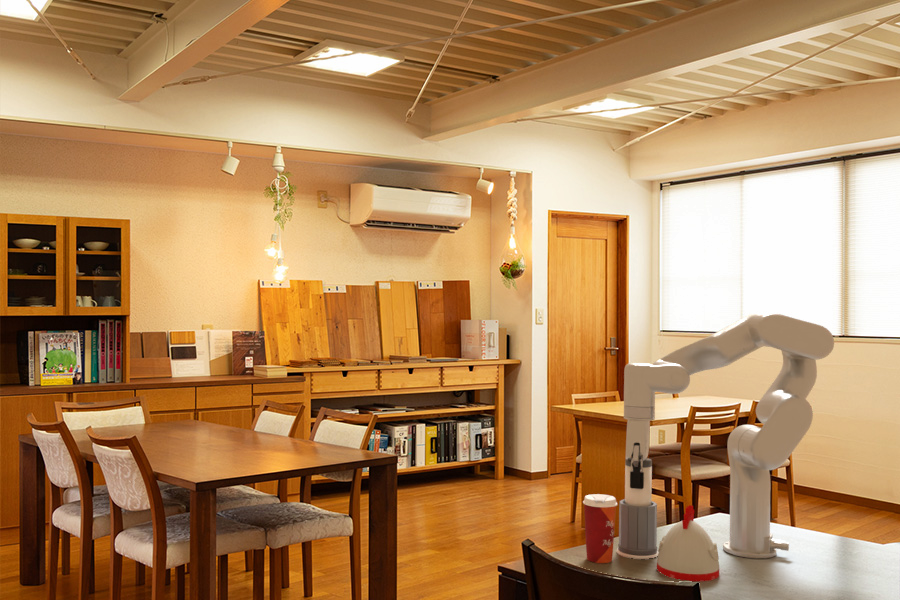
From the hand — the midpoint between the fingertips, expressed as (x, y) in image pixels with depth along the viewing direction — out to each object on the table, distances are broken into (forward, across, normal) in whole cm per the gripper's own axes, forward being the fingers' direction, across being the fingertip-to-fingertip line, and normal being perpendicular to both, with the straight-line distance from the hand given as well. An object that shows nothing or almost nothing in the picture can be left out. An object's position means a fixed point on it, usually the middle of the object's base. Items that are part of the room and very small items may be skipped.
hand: (638, 484), depth 207 cm
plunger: (+11, 0, 0) cm, 11 cm away
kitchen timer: (+17, +10, +12) cm, 24 cm away
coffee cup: (+17, +8, -8) cm, 21 cm away
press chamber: (+17, 0, 0) cm, 17 cm away
